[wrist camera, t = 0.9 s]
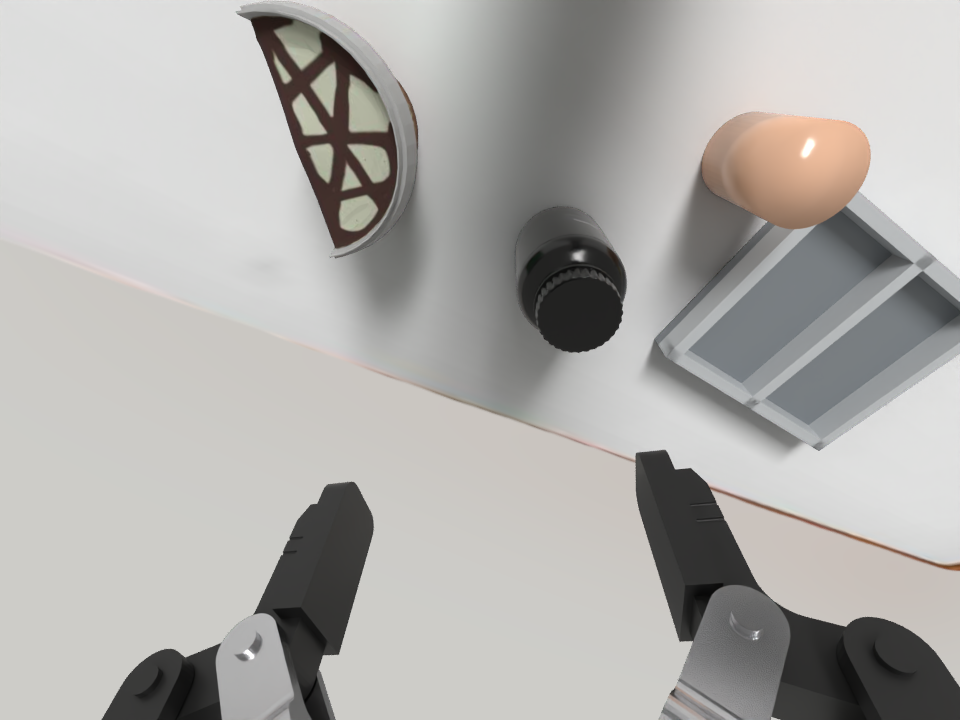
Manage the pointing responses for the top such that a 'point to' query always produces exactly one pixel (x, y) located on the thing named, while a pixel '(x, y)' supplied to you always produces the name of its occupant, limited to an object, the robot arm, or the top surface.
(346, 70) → the food container
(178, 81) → the top surface
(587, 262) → the supplement bottle
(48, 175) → the top surface
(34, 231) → the top surface
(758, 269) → the rack
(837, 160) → the peach rounded capsule
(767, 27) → the top surface
